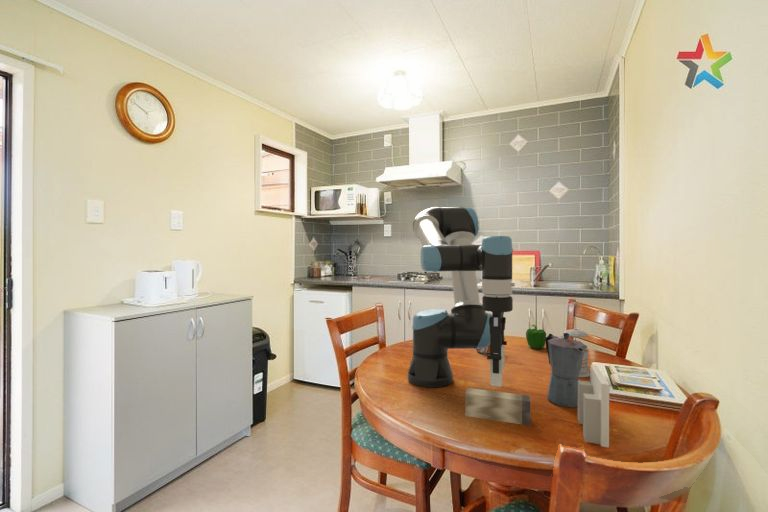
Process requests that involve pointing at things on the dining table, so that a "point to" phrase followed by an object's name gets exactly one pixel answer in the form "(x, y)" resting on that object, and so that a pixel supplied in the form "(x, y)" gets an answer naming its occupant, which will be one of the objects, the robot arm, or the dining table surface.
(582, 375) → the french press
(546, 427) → the dining table surface
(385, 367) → the dining table surface
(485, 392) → the grey rectangular block
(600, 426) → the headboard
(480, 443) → the dining table surface
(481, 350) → the soda can
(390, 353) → the dining table surface
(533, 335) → the bell pepper
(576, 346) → the moka pot
